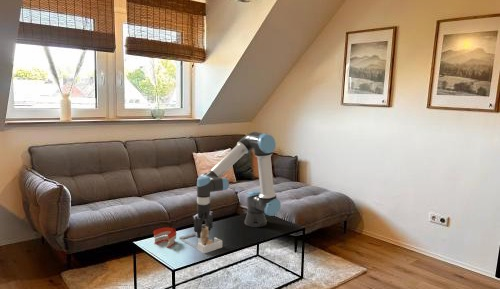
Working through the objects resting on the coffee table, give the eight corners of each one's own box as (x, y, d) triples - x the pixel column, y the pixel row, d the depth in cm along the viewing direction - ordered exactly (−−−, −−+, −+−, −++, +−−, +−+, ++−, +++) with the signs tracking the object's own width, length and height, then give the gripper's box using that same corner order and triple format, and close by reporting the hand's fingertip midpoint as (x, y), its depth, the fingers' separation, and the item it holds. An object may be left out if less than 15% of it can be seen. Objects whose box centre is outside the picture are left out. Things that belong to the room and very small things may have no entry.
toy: (181, 242, 219) (180, 229, 217) (169, 248, 210) (168, 235, 209) (165, 238, 225) (165, 225, 224) (153, 243, 216) (152, 230, 215)
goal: (215, 243, 217) (215, 237, 217) (222, 247, 213) (222, 240, 212) (197, 249, 208) (197, 243, 208) (204, 253, 204) (204, 246, 203)
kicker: (206, 242, 219) (206, 222, 218) (212, 245, 215) (212, 225, 214) (195, 245, 214) (195, 225, 212) (201, 248, 210) (201, 228, 208)
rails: (194, 234, 231) (194, 232, 231) (214, 244, 217) (214, 242, 217) (179, 239, 223) (179, 237, 223) (198, 249, 209) (198, 247, 209)
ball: (214, 247, 210) (210, 247, 213) (213, 240, 211) (209, 240, 214) (209, 249, 208) (205, 249, 211) (207, 242, 208) (203, 242, 211)
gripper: (211, 199, 220) (211, 236, 223) (187, 204, 208) (187, 243, 211) (219, 201, 215) (218, 239, 218) (195, 207, 203) (195, 247, 206)
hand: (203, 241), depth 215 cm, fingers closed on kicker, 4 cm apart
